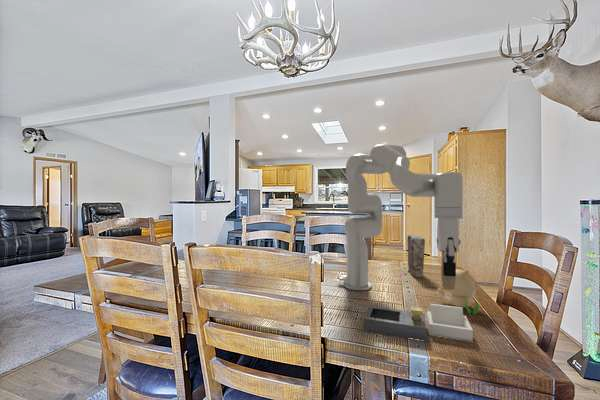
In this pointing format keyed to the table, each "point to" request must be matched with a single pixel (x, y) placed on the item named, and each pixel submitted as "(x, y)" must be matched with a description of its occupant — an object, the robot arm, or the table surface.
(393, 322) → the socket block
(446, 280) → the handle
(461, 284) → the cream toy figurine
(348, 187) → the robot arm
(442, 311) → the white square bin
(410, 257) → the stone block
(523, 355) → the table surface
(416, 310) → the brass key
